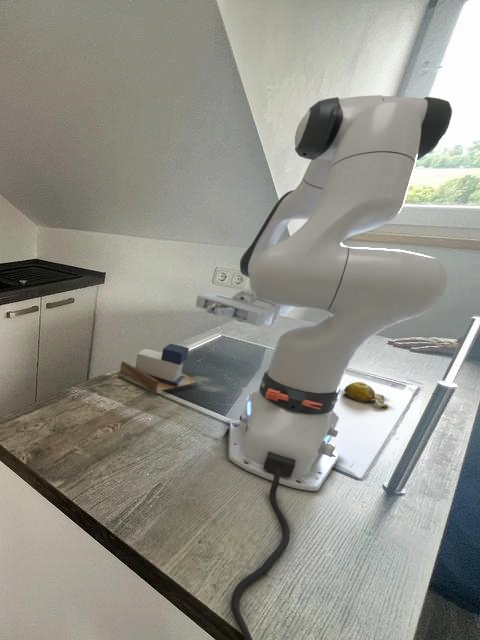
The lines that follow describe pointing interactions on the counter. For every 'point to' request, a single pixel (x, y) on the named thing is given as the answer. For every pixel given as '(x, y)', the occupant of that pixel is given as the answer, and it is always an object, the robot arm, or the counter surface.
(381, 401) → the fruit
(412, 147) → the robot arm
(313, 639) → the counter surface
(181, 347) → the white block blue cap
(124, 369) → the shoe shelf
